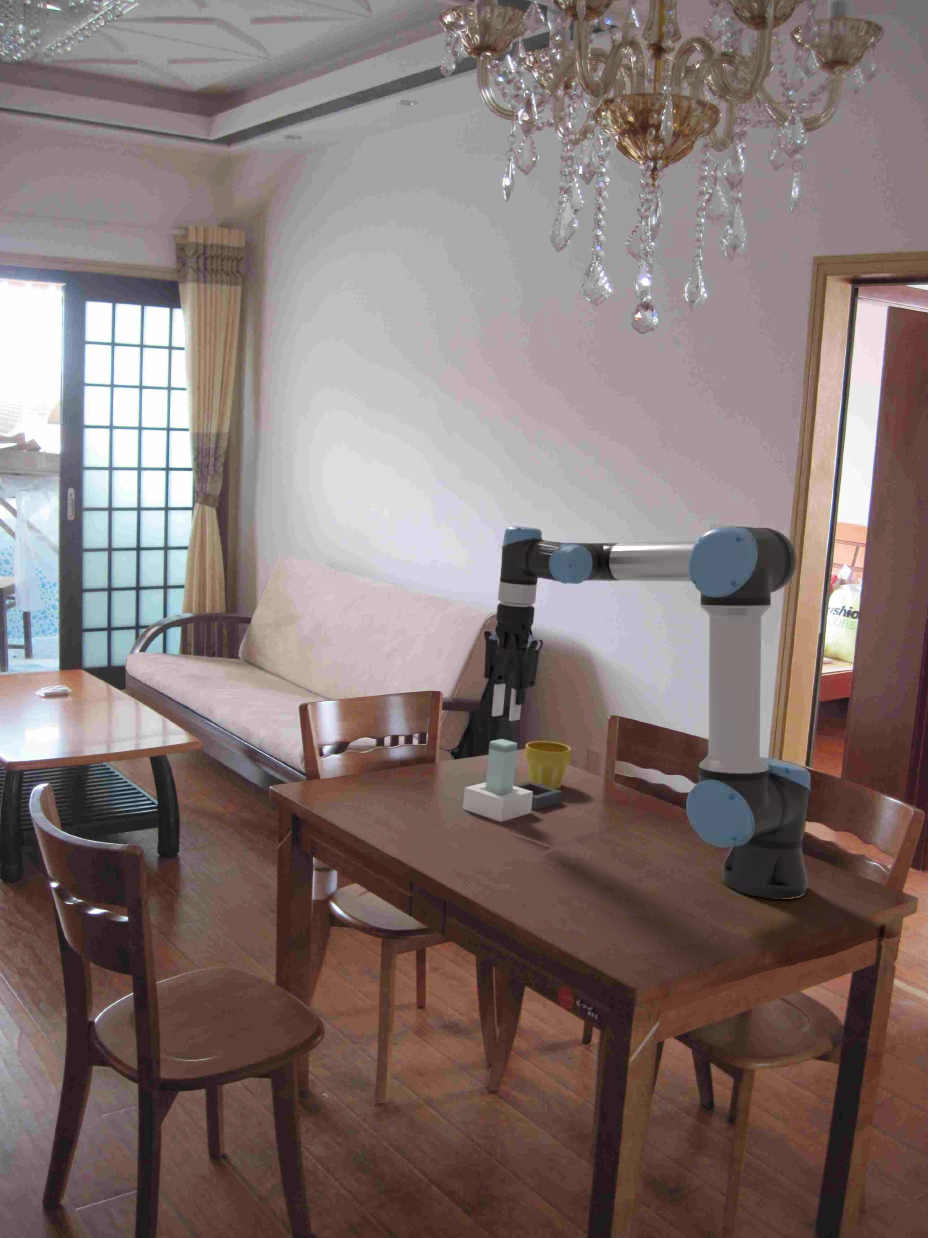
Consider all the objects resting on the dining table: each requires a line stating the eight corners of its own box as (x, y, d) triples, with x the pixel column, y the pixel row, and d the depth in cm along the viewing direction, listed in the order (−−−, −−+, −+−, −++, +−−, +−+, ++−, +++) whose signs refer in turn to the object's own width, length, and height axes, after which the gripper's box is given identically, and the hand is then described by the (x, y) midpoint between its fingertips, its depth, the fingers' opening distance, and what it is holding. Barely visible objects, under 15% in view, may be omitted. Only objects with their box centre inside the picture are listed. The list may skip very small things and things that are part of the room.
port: (530, 815, 237) (533, 788, 237) (500, 824, 230) (503, 797, 229) (493, 802, 244) (495, 777, 243) (462, 811, 236) (465, 784, 235)
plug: (511, 809, 237) (517, 743, 235) (498, 812, 234) (505, 745, 232) (495, 804, 239) (501, 738, 238) (483, 807, 236) (489, 741, 234)
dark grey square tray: (560, 804, 246) (562, 791, 246) (535, 812, 240) (537, 798, 239) (527, 794, 252) (528, 781, 252) (502, 801, 245) (503, 787, 245)
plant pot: (513, 782, 262) (517, 740, 261) (553, 780, 266) (557, 739, 265) (535, 796, 253) (539, 753, 251) (575, 794, 257) (580, 751, 256)
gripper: (561, 609, 228) (549, 724, 232) (495, 597, 239) (485, 707, 242) (538, 610, 223) (527, 728, 226) (472, 598, 233) (462, 711, 236)
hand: (505, 717), depth 234 cm, fingers open, 4 cm apart
